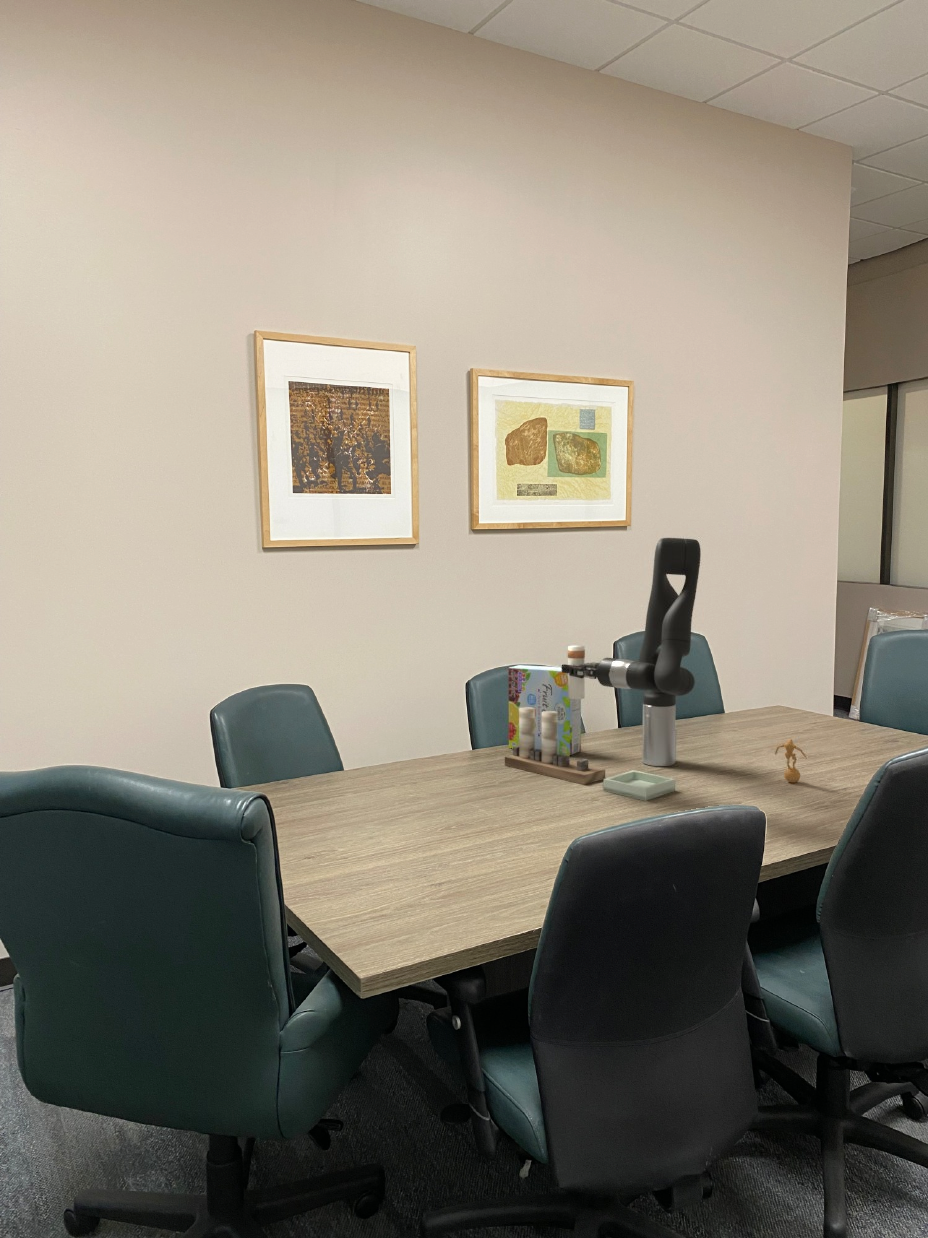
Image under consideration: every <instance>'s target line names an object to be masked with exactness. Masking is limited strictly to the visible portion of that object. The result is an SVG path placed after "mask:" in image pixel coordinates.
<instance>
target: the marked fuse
mask: <svg viewBox="0 0 928 1238" xmlns="http://www.w3.org/2000/svg"><path fill="white" fill-rule="evenodd" d="M585 648H586V647H585V645H568V646H567V665H578V666H579V665H580V664H585V657H586V650H585ZM568 698H570V699H581V700H582V699H585V677H584V678H578V677H574V676H569V673H568Z"/></svg>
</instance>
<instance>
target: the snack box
mask: <svg viewBox="0 0 928 1238" xmlns="http://www.w3.org/2000/svg"><path fill="white" fill-rule="evenodd" d="M522 707H532V708H535V749H541V750H542V712H544V711H555V712H557V754H564V755H569V756H572V755H575V754H578V753H579V752H581V751H582V735H581V734H582V728H581V727H582V699H570V698H568V673H562V667H558V666H546V665H545V666H543V665H542V666H540V665H524V664H523V665H522V664H521V665H520V664H519V665H515V666H509V667H508V749H511V748H513V747H514V746H519V708H522Z"/></svg>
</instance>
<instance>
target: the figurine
mask: <svg viewBox="0 0 928 1238" xmlns="http://www.w3.org/2000/svg"><path fill="white" fill-rule="evenodd" d="M783 747H784V748H785V751H786V752H784V755H785V758H786V766H787V768H786V769H785V771H784V775H783V777H784V779H785V780H786V782H789V783H791V784H793V783H794V784H795V783H797V782H799V780H800V779H801V773H800V771H799V770H798V769H797V767H796V766H795V765H796V762H797V760H798V759H797V756H796V753H794V750H797V751H799V752H800V753H801V754H802V755H803V756H804V757H805V760H808V758H807V755H806V754H805V753H804V752H803V750H802V749H801V748H799V747H798V746H796V745H795V744H794V743H793V738H790V739H789V740H788V741H787V742H785V743H782V744H780V745H777V746H776V749H775V752H774V755H778V754H779V751H778V750H779V749H780V748H783ZM790 759H792V760H793V762H792V767H791V766H790Z"/></svg>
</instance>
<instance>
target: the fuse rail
mask: <svg viewBox="0 0 928 1238" xmlns="http://www.w3.org/2000/svg"><path fill="white" fill-rule="evenodd" d="M570 756H571V755H564V754H557V712H555V711H544V712H542V750H541V749H535V708H532V707H522V708H519V746H514V747H513V749H512V754H511V755H506V756H504V766H507V767H510V768H514V769H519V770H523V771H527V772H532V773H535V774H540V775H543V776H544V775H545V776H547V777H551V778H556V779H560V780H563V781H566V782H567V781H568V782H572V783H576V784H580V785H587V784H590V783H594V782H595V783H596V782H598V781H602V780H604V779H606V768H602V767H597V766H593V765H590V764H589V759H587V758H582V759H580V760H577V761H576V762H574V761H571V759H570Z"/></svg>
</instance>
